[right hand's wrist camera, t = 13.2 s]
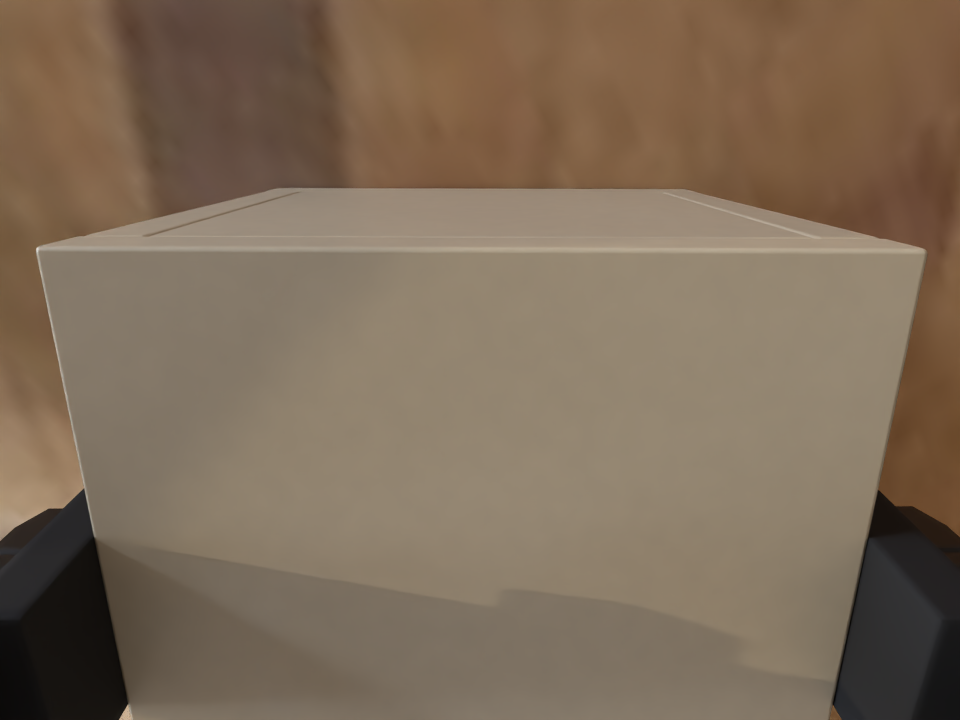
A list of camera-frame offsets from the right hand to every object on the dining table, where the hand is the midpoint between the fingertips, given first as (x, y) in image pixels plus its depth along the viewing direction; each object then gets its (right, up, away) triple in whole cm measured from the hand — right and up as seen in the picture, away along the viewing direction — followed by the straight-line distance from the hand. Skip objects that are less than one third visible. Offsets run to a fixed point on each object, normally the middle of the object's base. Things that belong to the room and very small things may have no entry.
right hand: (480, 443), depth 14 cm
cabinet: (0, -3, +5) cm, 6 cm away
